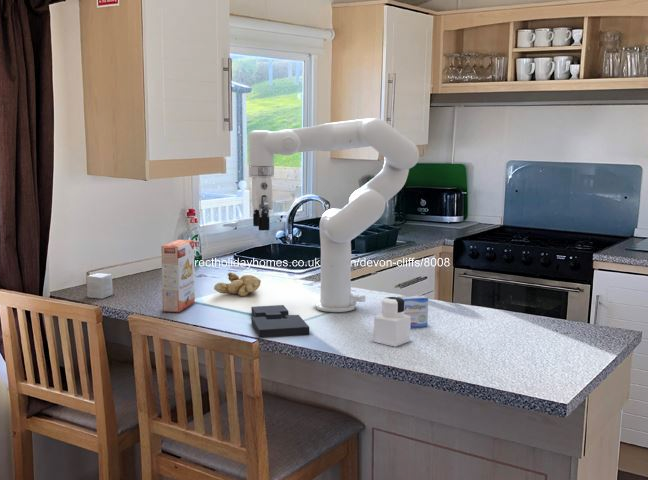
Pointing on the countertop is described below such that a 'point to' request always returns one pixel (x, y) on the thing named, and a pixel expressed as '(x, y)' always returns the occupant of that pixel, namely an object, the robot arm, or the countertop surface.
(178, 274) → the cracker box
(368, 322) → the countertop surface
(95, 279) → the product box
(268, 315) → the pad
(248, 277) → the ginger root
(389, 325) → the medicine bottle
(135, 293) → the countertop surface
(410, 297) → the medicine box
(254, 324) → the notch pad
